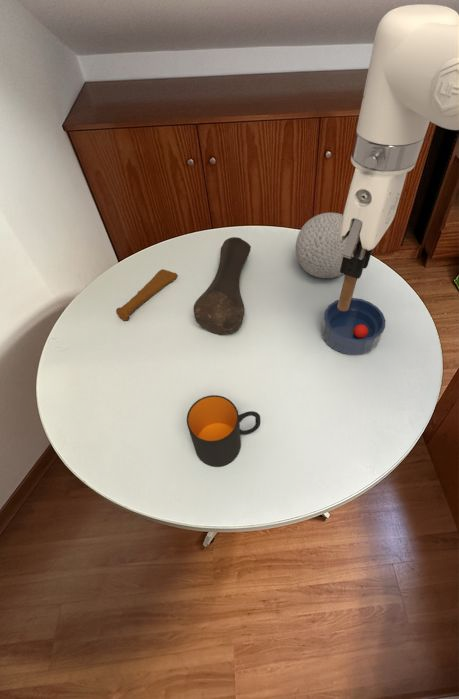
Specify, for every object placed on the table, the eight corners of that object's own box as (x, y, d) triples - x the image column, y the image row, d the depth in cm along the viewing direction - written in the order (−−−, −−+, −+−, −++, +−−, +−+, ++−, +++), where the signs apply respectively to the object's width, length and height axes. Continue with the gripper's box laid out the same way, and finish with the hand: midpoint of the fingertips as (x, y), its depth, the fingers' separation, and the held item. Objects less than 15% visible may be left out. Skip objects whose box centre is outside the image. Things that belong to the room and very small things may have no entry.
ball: (368, 334, 79) (372, 324, 77) (363, 343, 77) (366, 334, 75) (355, 328, 80) (358, 319, 78) (349, 337, 79) (352, 328, 76)
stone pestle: (228, 347, 82) (243, 276, 102) (250, 317, 75) (262, 246, 94) (183, 327, 80) (208, 258, 99) (202, 293, 73) (224, 226, 92)
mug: (266, 454, 64) (268, 428, 56) (199, 472, 63) (191, 448, 55) (253, 414, 69) (253, 384, 61) (191, 429, 68) (182, 401, 60)
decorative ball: (287, 256, 98) (291, 203, 86) (343, 249, 98) (354, 196, 86) (301, 294, 88) (307, 242, 76) (362, 287, 89) (378, 233, 77)
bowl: (387, 327, 81) (394, 311, 77) (365, 365, 75) (371, 350, 71) (335, 306, 85) (339, 290, 81) (311, 341, 79) (314, 325, 76)
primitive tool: (162, 270, 97) (159, 259, 94) (179, 275, 95) (177, 265, 92) (116, 318, 87) (111, 308, 84) (134, 326, 85) (130, 316, 82)
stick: (350, 305, 65) (370, 238, 54) (346, 313, 64) (364, 245, 53) (340, 301, 66) (356, 234, 55) (335, 308, 65) (351, 241, 54)
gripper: (394, 186, 38) (356, 310, 53) (437, 128, 46) (394, 250, 61) (327, 170, 41) (309, 291, 56) (378, 118, 49) (350, 236, 63)
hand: (353, 269), depth 58 cm, fingers closed on stick, 2 cm apart
